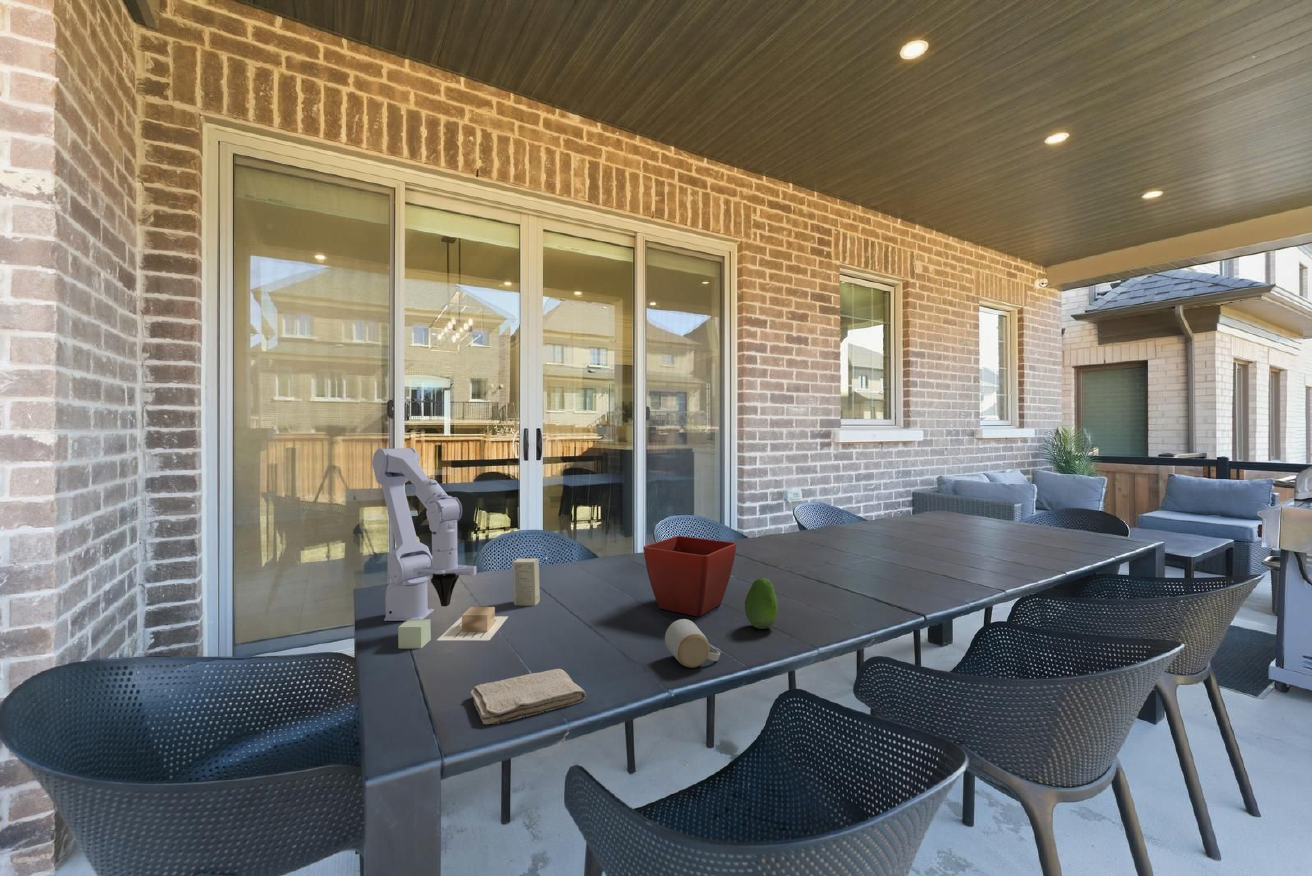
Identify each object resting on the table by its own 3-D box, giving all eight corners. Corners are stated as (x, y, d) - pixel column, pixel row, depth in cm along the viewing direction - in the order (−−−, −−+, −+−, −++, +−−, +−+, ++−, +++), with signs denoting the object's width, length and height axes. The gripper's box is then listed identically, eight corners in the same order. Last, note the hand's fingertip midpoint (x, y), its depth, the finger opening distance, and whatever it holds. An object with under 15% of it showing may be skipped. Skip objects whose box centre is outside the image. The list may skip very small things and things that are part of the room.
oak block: (461, 632, 130) (461, 615, 130) (470, 623, 136) (470, 607, 136) (487, 632, 130) (487, 615, 130) (494, 623, 136) (494, 607, 136)
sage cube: (398, 649, 121) (398, 627, 121) (408, 641, 126) (408, 619, 126) (421, 649, 121) (421, 627, 121) (430, 641, 126) (430, 619, 126)
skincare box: (540, 601, 154) (539, 558, 154) (535, 606, 150) (534, 561, 149) (518, 601, 155) (518, 557, 155) (512, 606, 150) (512, 561, 150)
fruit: (784, 627, 133) (784, 577, 133) (766, 636, 127) (766, 584, 127) (756, 619, 138) (756, 572, 138) (738, 628, 133) (738, 578, 132)
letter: (436, 641, 125) (436, 640, 125) (461, 617, 141) (461, 616, 141) (489, 641, 125) (489, 640, 125) (508, 617, 141) (508, 616, 141)
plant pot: (738, 603, 152) (738, 542, 152) (706, 624, 136) (706, 555, 136) (678, 592, 162) (677, 535, 162) (641, 610, 146) (641, 547, 146)
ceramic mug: (677, 672, 109) (678, 633, 109) (664, 656, 116) (664, 620, 116) (726, 666, 112) (727, 628, 112) (710, 650, 120) (711, 615, 120)
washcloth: (467, 700, 99) (467, 683, 99) (563, 677, 108) (563, 661, 108) (483, 731, 88) (483, 712, 88) (587, 703, 97) (587, 686, 97)
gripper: (407, 552, 129) (408, 610, 129) (469, 552, 129) (470, 610, 129) (420, 546, 136) (420, 601, 136) (479, 546, 136) (479, 601, 136)
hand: (445, 605), depth 133 cm, fingers closed
